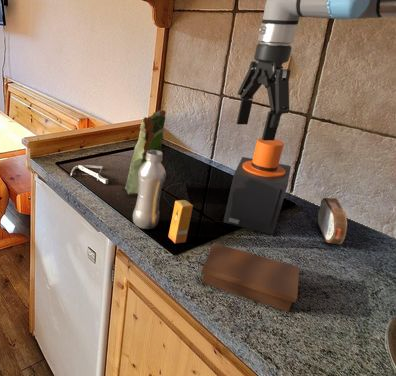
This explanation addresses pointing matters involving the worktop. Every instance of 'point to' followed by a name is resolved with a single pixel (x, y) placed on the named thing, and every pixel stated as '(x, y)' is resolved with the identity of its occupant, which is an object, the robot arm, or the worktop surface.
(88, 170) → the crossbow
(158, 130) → the pouch
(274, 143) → the hat
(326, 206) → the tin
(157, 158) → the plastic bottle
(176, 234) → the supplement box
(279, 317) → the worktop surface
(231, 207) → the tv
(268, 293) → the stand
